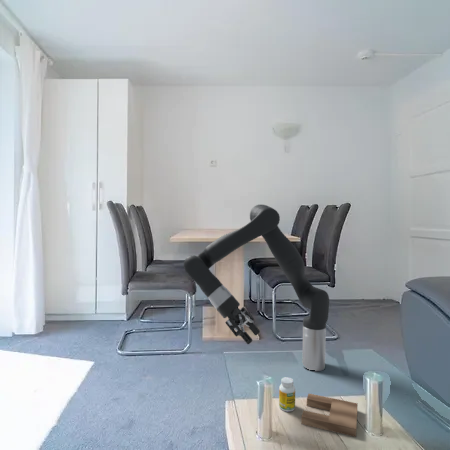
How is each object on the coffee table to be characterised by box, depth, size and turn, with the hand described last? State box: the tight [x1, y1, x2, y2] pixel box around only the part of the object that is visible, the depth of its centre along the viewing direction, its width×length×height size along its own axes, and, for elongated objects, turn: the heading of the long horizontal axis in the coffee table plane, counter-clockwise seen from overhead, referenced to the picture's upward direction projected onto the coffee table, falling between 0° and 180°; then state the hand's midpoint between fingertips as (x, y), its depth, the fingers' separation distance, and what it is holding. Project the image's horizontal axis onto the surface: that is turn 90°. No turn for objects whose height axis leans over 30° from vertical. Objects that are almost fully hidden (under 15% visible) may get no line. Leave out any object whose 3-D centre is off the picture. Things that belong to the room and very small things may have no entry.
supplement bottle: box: [278, 376, 296, 413], centre depth 120 cm, size 5×5×10 cm
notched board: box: [300, 393, 359, 438], centre depth 115 cm, size 14×16×2 cm
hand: (254, 337), depth 122 cm, fingers open, 8 cm apart
